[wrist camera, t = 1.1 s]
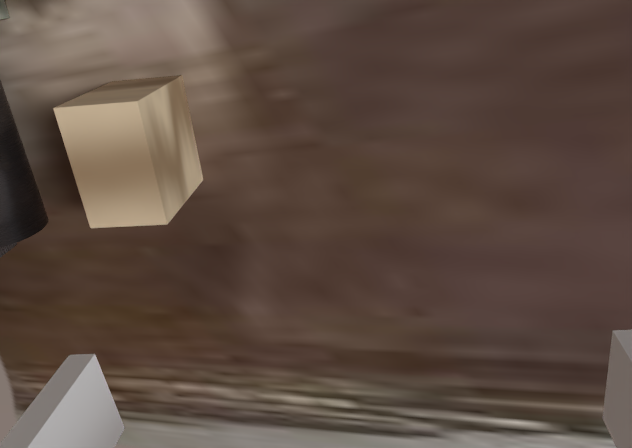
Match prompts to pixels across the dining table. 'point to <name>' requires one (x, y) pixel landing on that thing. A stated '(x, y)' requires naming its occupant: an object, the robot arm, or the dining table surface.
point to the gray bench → (16, 186)
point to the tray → (3, 10)
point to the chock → (131, 151)
